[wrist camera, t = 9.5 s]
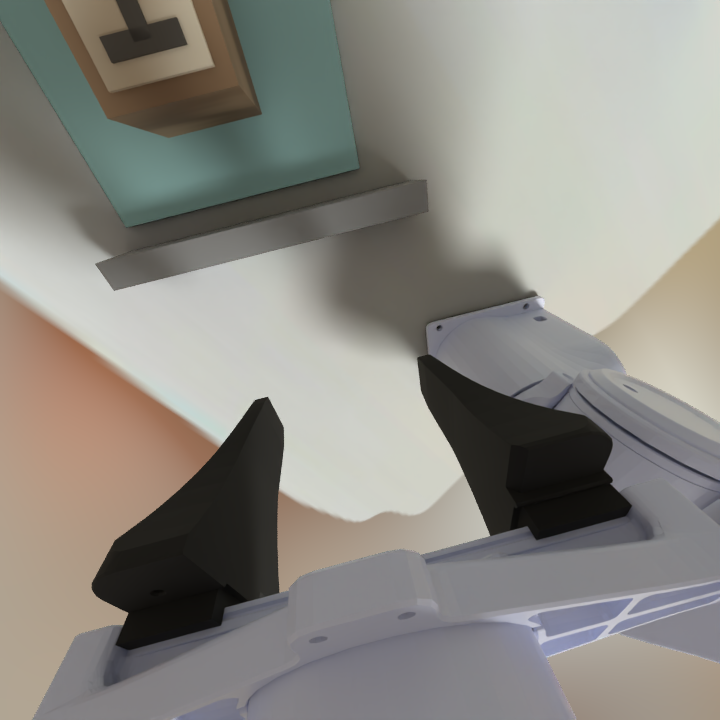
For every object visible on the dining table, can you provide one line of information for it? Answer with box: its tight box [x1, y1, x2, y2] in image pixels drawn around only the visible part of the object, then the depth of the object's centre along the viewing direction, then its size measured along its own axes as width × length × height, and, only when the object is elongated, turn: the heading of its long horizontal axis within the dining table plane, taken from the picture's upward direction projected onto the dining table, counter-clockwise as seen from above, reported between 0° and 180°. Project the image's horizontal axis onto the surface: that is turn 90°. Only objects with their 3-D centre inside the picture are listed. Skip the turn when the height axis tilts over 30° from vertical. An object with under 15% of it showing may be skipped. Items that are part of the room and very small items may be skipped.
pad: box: [0, 0, 359, 228], centre depth 13 cm, size 14×12×1 cm
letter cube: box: [44, 0, 262, 138], centre depth 11 cm, size 5×5×5 cm
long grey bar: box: [95, 180, 428, 291], centre depth 17 cm, size 18×2×3 cm, turn 102°
